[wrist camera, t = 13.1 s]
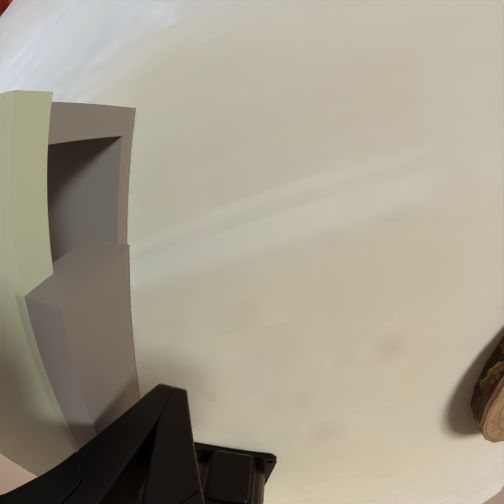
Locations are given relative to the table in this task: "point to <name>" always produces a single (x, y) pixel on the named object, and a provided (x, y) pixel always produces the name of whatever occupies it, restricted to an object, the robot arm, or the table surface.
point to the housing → (88, 174)
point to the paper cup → (4, 5)
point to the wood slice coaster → (491, 397)
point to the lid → (55, 310)
